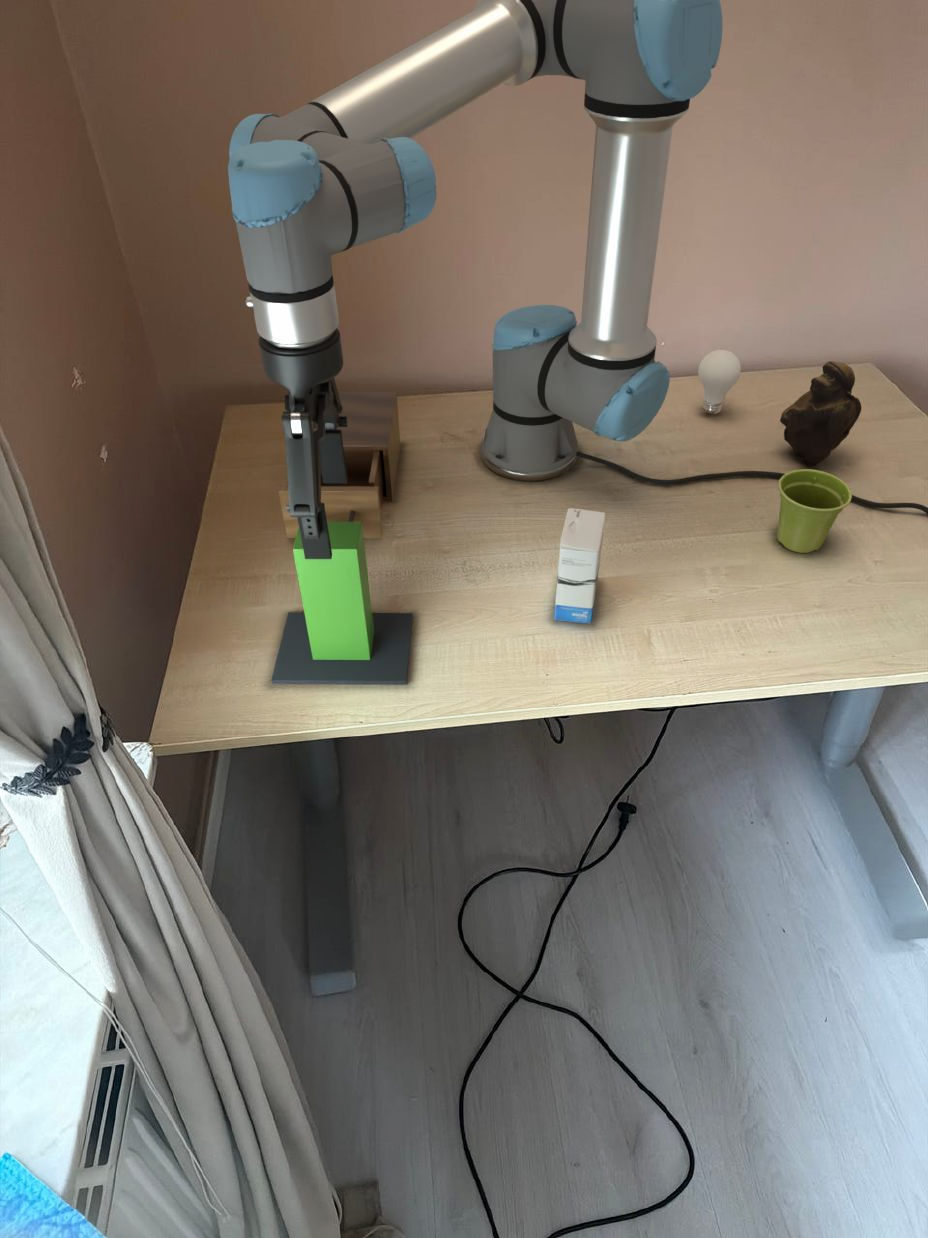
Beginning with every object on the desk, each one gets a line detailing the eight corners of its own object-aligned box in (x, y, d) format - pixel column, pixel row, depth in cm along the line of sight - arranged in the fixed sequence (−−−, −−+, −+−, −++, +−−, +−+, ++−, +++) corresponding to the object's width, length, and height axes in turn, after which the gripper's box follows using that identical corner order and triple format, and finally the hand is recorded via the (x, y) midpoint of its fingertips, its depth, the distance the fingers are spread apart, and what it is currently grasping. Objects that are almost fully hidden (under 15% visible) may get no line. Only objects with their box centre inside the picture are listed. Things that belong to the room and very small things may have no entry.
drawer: (378, 559, 122) (374, 512, 117) (280, 558, 122) (271, 512, 117) (390, 479, 136) (386, 434, 131) (302, 479, 136) (295, 434, 131)
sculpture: (752, 432, 139) (812, 344, 133) (795, 450, 145) (854, 367, 139) (794, 465, 132) (859, 373, 125) (838, 483, 138) (902, 396, 131)
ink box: (591, 625, 113) (600, 552, 105) (552, 620, 114) (558, 547, 106) (598, 582, 119) (606, 510, 111) (560, 578, 120) (566, 505, 112)
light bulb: (735, 423, 148) (748, 361, 141) (694, 423, 148) (706, 361, 141) (726, 402, 153) (739, 342, 146) (687, 403, 153) (698, 342, 146)
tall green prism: (374, 631, 112) (361, 521, 100) (370, 660, 108) (357, 549, 97) (318, 631, 112) (299, 521, 100) (312, 659, 108) (292, 549, 97)
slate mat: (413, 616, 115) (412, 612, 114) (406, 684, 106) (406, 681, 105) (288, 615, 115) (288, 612, 115) (272, 683, 106) (271, 680, 106)
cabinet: (392, 501, 133) (387, 445, 127) (295, 501, 134) (285, 445, 127) (400, 445, 145) (396, 391, 138) (310, 445, 145) (302, 391, 139)
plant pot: (835, 527, 127) (853, 475, 121) (833, 567, 121) (851, 515, 115) (768, 515, 129) (781, 464, 124) (761, 553, 123) (775, 501, 117)
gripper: (281, 277, 92) (310, 454, 106) (229, 399, 74) (272, 593, 88) (354, 276, 92) (373, 453, 106) (319, 399, 73) (348, 593, 88)
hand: (327, 517), depth 97 cm, fingers open, 13 cm apart
